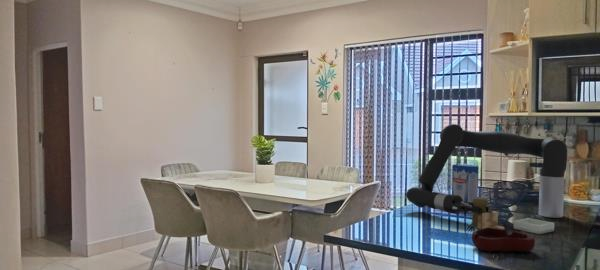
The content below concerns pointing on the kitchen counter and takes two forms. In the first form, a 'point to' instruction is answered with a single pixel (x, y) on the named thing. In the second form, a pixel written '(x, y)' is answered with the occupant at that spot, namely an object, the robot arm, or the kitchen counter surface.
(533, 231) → the tray
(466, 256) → the kitchen counter surface
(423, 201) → the robot arm
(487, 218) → the bracket
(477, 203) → the cork
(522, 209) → the kitchen counter surface
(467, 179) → the milk carton
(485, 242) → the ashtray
